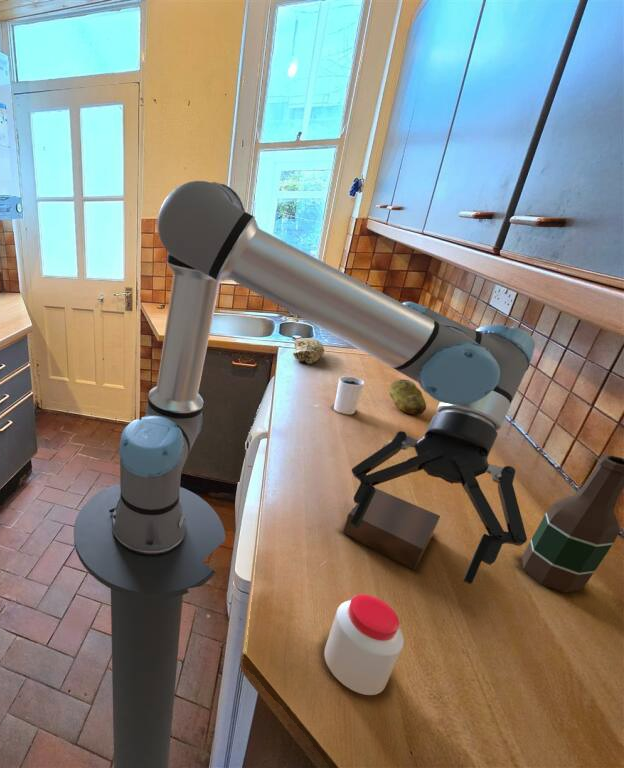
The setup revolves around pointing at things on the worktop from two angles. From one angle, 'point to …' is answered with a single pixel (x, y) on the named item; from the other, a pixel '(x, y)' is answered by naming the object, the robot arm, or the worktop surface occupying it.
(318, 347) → the tan rock
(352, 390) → the white cup
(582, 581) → the beer bottle
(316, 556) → the worktop surface
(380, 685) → the pill bottle
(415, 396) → the avocado
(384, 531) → the walnut block
